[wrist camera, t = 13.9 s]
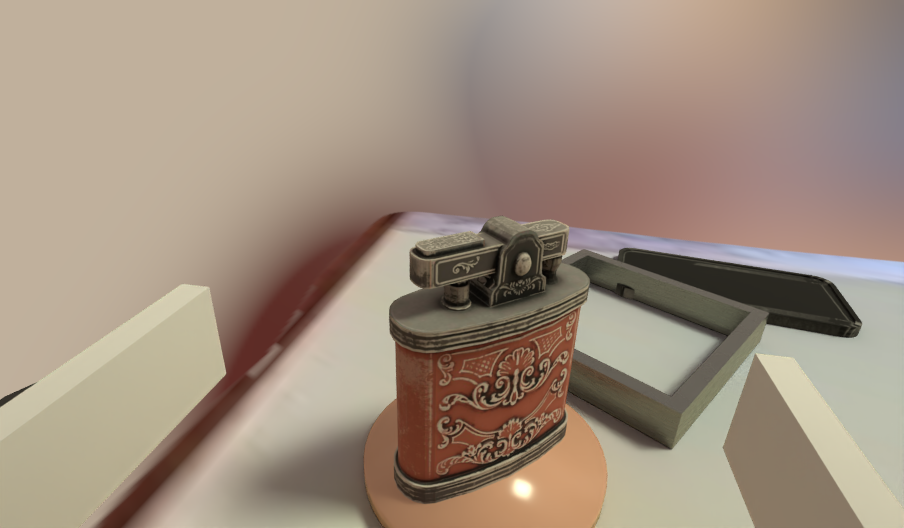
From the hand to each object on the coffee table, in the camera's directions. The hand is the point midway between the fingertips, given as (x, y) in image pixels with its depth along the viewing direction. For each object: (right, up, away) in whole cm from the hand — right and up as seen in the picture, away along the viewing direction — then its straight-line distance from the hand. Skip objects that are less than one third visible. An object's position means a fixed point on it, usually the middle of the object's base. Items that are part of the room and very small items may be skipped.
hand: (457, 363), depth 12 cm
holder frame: (+10, -2, +18) cm, 21 cm away
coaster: (+1, -6, +9) cm, 11 cm away
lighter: (+1, -5, +9) cm, 11 cm away
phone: (+19, 0, +25) cm, 31 cm away
